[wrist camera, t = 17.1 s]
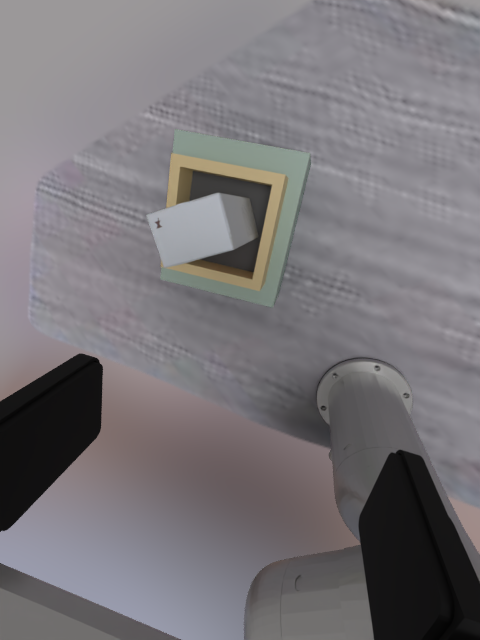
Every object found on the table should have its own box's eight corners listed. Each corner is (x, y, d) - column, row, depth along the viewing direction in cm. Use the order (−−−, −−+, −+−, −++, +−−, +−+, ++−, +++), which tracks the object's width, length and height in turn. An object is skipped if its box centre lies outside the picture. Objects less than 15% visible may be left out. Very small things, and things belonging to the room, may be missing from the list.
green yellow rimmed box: (279, 292, 42) (268, 317, 32) (182, 269, 44) (145, 285, 34) (311, 163, 36) (309, 146, 27) (198, 142, 38) (159, 119, 29)
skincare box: (209, 251, 35) (161, 269, 24) (198, 212, 34) (142, 213, 23) (261, 237, 33) (234, 251, 22) (251, 196, 32) (218, 189, 21)
